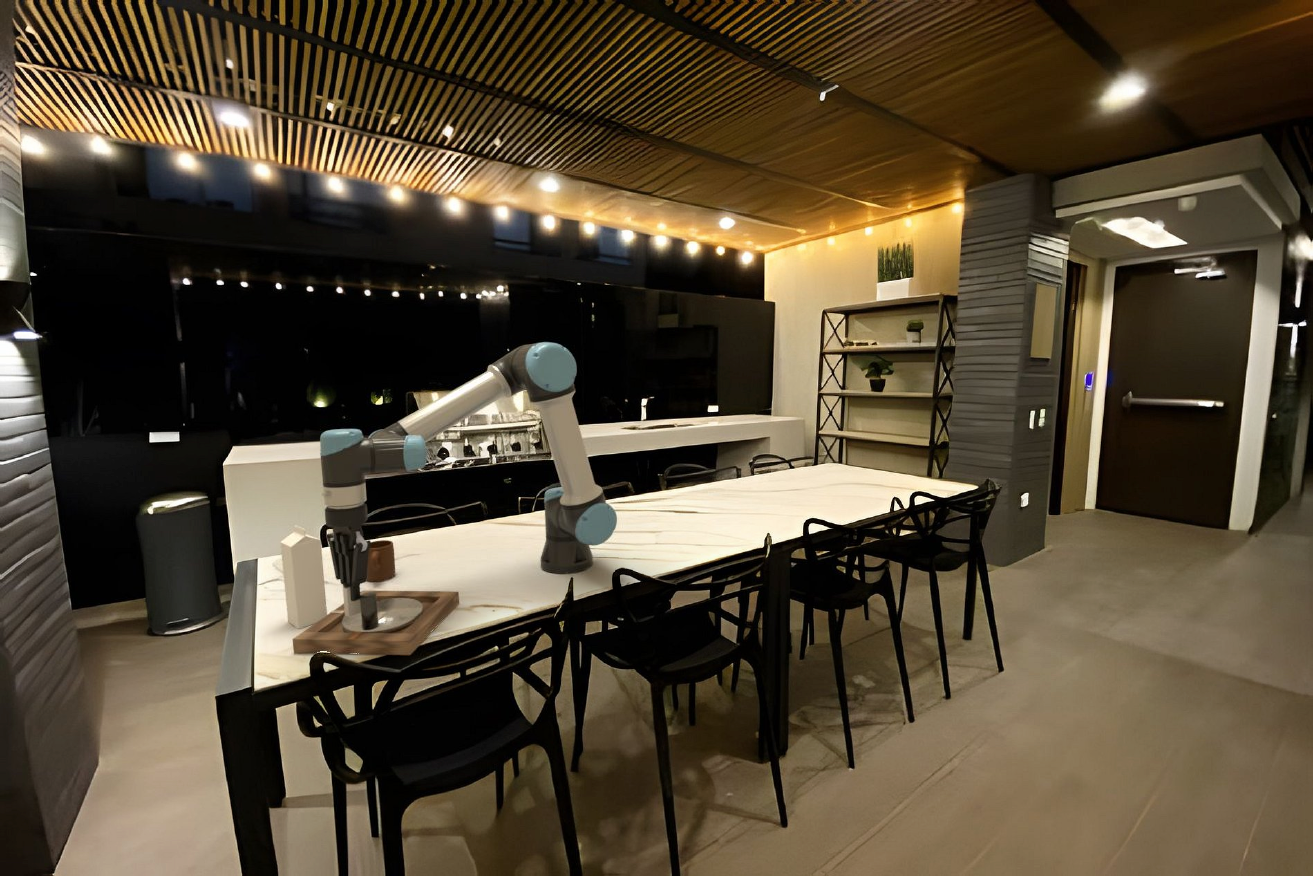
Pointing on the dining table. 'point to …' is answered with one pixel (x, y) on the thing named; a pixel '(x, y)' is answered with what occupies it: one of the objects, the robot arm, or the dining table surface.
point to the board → (398, 642)
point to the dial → (382, 615)
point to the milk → (303, 578)
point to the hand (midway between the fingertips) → (353, 613)
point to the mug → (381, 561)
